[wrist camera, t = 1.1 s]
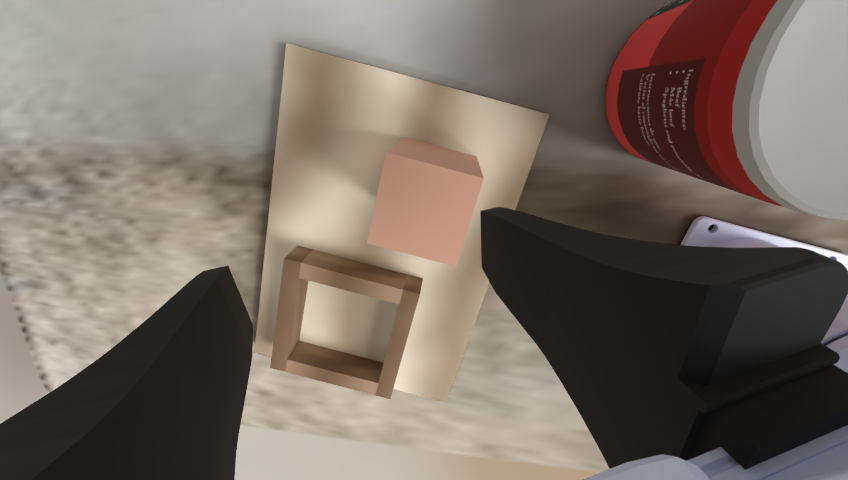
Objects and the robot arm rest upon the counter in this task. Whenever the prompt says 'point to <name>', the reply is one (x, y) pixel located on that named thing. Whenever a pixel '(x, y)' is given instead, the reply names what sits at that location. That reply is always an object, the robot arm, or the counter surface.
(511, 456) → the counter surface
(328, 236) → the board
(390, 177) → the block
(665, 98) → the canned food
